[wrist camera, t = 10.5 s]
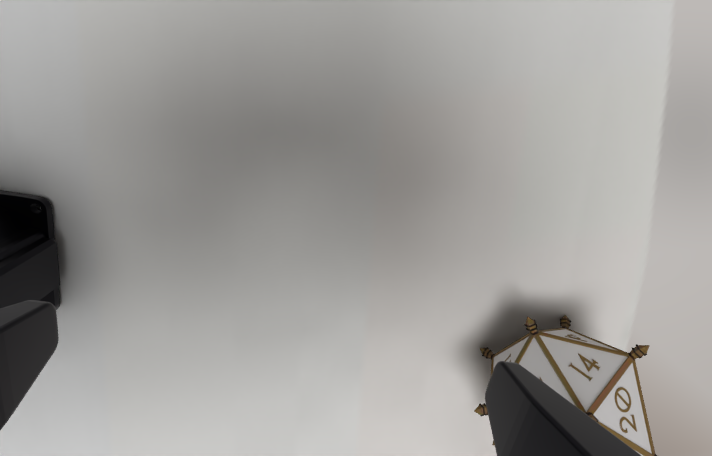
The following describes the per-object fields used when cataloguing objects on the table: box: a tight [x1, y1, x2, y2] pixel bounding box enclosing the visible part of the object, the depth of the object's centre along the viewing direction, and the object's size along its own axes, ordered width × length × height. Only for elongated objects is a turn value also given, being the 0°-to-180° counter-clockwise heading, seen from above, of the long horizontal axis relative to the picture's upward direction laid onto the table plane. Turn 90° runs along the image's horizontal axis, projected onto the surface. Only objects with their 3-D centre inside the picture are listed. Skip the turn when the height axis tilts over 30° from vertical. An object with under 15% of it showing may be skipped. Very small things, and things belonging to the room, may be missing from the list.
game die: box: [474, 315, 657, 456], centre depth 21 cm, size 9×8×10 cm
